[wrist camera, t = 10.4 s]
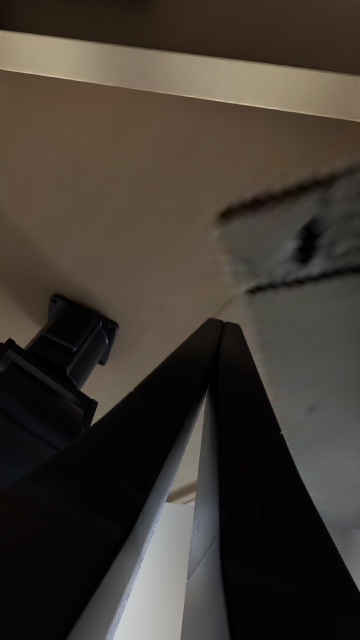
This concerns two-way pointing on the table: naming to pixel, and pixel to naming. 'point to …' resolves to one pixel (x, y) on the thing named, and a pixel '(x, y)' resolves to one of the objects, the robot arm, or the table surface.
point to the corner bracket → (184, 74)
